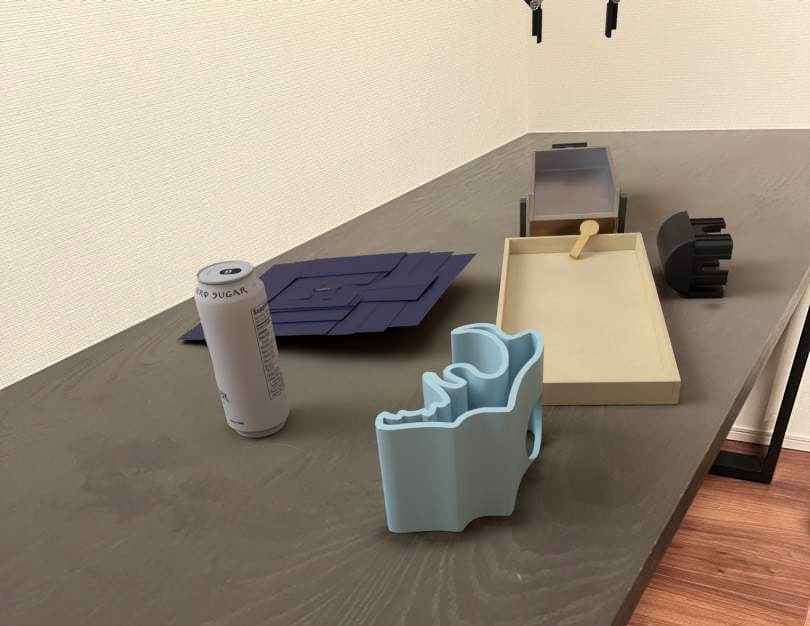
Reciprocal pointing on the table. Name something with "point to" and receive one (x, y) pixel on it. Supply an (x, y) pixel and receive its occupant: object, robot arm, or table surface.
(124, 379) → the table surface
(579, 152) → the dish
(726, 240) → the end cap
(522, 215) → the dish stand
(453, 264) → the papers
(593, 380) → the tray
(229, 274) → the energy drink can
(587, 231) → the key
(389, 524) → the squiggly pen holder
